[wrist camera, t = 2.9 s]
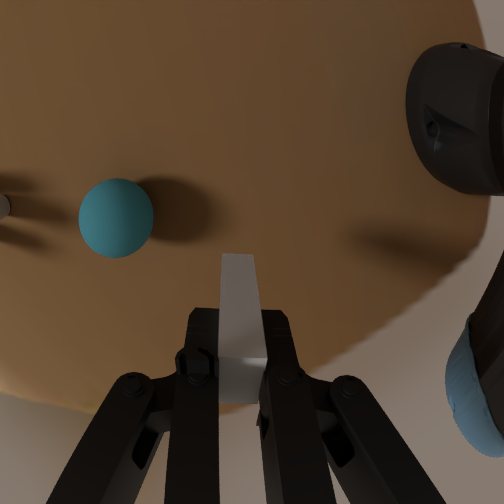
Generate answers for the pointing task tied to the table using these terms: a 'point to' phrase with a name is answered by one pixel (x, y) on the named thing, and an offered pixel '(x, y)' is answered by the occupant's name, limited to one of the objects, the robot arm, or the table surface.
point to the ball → (116, 218)
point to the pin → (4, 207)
